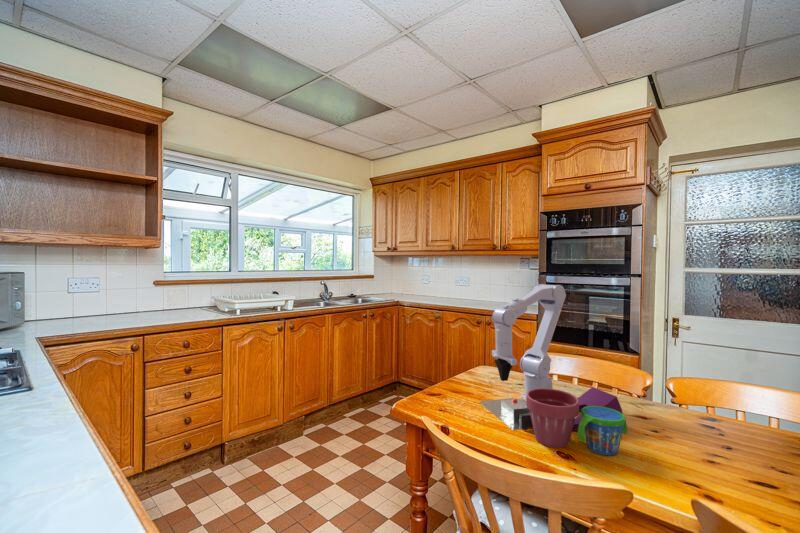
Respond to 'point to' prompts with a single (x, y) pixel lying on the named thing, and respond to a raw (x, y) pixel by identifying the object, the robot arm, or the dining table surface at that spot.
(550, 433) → the plant pot
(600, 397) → the mounting bracket
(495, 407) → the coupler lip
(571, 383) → the dining table surface
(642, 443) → the dining table surface
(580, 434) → the snack cup
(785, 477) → the dining table surface
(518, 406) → the block
